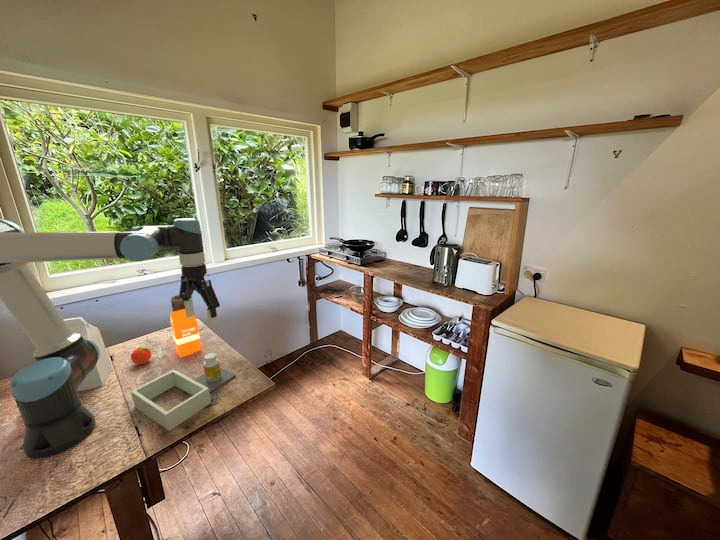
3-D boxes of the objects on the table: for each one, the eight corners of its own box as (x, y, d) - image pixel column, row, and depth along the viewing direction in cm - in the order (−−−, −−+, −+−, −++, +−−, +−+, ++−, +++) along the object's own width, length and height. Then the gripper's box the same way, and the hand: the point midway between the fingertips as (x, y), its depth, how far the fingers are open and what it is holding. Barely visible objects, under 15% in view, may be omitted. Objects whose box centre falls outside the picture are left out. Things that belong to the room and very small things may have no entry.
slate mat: (210, 392, 107) (209, 391, 107) (191, 383, 112) (191, 381, 112) (235, 376, 116) (235, 374, 116) (217, 368, 121) (217, 366, 121)
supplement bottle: (213, 383, 111) (210, 361, 108) (202, 380, 112) (198, 358, 110) (224, 375, 116) (221, 353, 113) (213, 372, 117) (210, 350, 114)
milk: (60, 394, 106) (39, 329, 99) (74, 376, 116) (56, 315, 109) (102, 385, 111) (85, 322, 103) (112, 369, 121) (97, 310, 113)
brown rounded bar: (189, 329, 154) (183, 293, 148) (197, 333, 150) (190, 296, 144) (174, 335, 148) (166, 297, 142) (181, 339, 144) (173, 301, 138)
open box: (169, 431, 90) (165, 414, 89) (134, 406, 100) (130, 391, 99) (211, 402, 102) (208, 388, 100) (176, 383, 112) (173, 369, 110)
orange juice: (175, 350, 134) (167, 309, 129) (197, 343, 140) (190, 304, 134) (180, 357, 129) (171, 315, 123) (202, 350, 134) (195, 309, 129)
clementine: (157, 356, 130) (154, 342, 128) (152, 365, 123) (149, 350, 121) (136, 359, 127) (132, 345, 125) (130, 369, 121) (126, 353, 119)
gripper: (226, 266, 98) (233, 324, 104) (183, 257, 110) (191, 309, 116) (205, 272, 92) (213, 333, 98) (161, 261, 104) (171, 316, 110)
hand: (201, 320), depth 107 cm, fingers open, 13 cm apart
